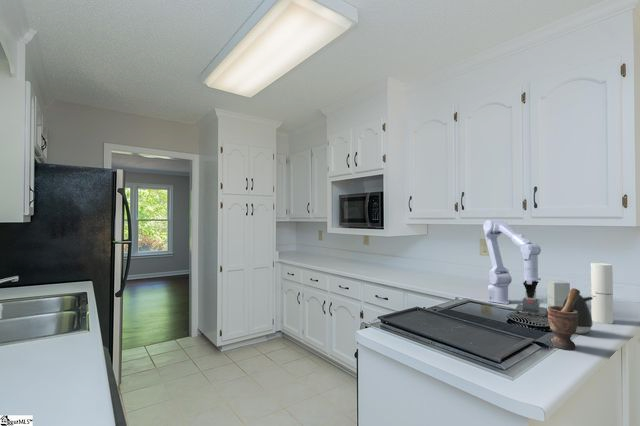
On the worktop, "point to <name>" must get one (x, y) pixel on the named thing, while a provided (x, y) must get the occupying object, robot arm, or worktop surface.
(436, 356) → the worktop surface
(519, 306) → the stand
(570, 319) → the mortar and pestle
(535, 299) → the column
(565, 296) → the supplement box
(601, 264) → the cylindrical container
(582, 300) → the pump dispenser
